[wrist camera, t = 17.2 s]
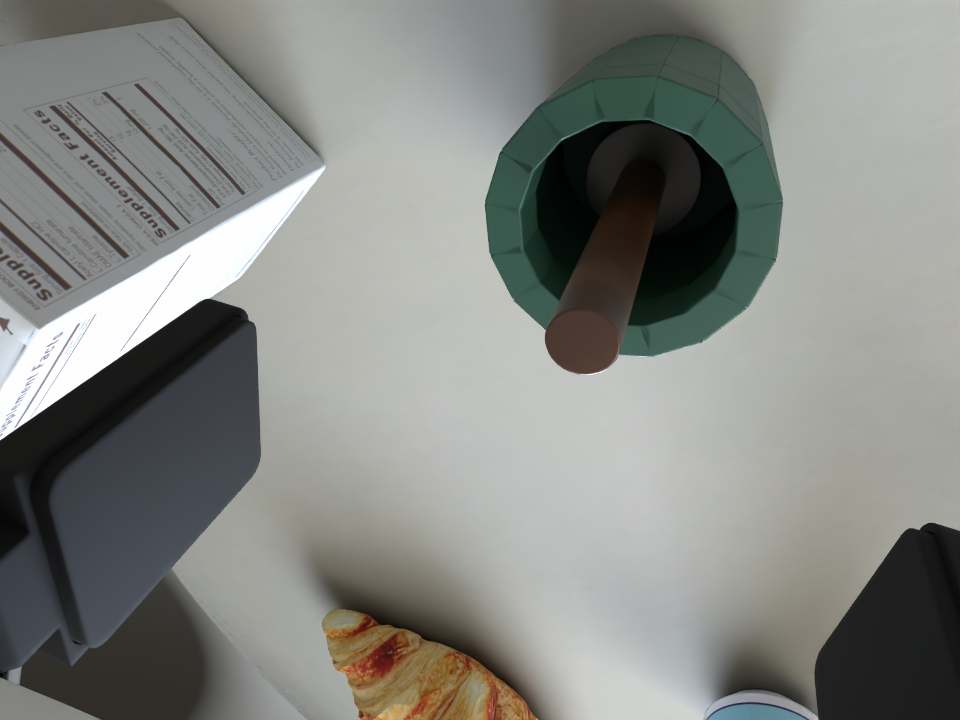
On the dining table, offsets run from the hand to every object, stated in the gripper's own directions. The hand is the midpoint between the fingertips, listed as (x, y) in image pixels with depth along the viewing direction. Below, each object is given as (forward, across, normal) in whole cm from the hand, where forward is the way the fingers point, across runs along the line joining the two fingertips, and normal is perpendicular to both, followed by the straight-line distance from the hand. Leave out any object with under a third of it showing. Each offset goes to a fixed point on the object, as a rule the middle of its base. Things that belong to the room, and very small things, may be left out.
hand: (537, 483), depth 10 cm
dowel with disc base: (+21, 0, +1) cm, 21 cm away
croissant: (+21, +3, +40) cm, 45 cm away
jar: (+22, 0, +1) cm, 22 cm away
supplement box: (+22, +21, +6) cm, 31 cm away
